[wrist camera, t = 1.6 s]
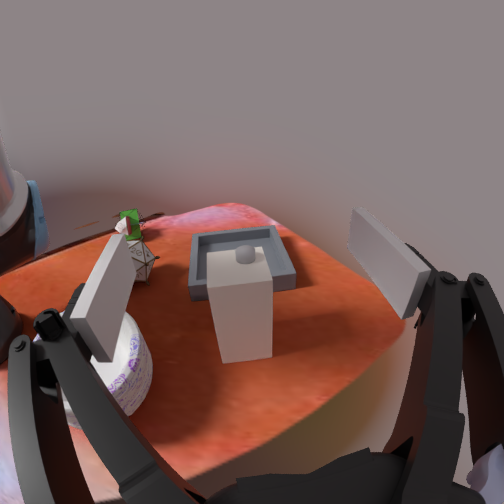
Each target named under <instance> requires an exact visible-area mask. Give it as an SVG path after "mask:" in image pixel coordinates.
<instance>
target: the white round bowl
mask: <svg viewBox="0 0 504 504" xmlns="http://www.w3.org/2000/svg"><path fill="white" fill-rule="evenodd" d="M63 313H64V311H63V312H61V313H60V316H61V317H62V315H63ZM37 340H41V338H40V336H39V335H38V334H37V336H36V337H35V339H34V340H33V342H34V341H37ZM90 362H91V363H92V365H93V366H94V368H95V369H96V371H97V373H98V374H99V376H100V377H101V379H102V380H103V382H104V384H105V385H106V387H107V388H108V390H109V391H110V393H111V394H112V395H113V397H114V398H115V400H116V401H117V403H118V404H119V405H120V407H121V408H122V410H123V411H124V412H125V414H126V415H127V416H130V415H132V414H133V413H134V411H136V409H137V408H138V407H139V406H140V404H141V403H142V402H143V400H144V399H145V397H146V394H147V393H148V390H149V388H150V384H151V381H152V374H153V363H152V358H151V354H150V351H149V349H148V347H147V345H146V342H145V340H144V338H143V336H142V334H141V332H140V329H139V327H138V325H137V323H136V322H135V320H134V319H133V318H132V317H131V316H130V315H129V314H128V313H127V312H126V311H125V314H124V318H123V321H122V325H121V329H120V333H119V337H118V341H117V345H116V349H115V354H114V358H113V362H112V363H98V362H97V361H96V359H95V358H94V356H93V355H92V357H91V361H90ZM61 392H62V398H63V403H64V408H65V413H66V417H67V422H68V424H69V425H70V426H72V427H75V428H77V429H82V428H81V426H80V424H79V422H78V421H77V419H76V417H75V415H74V413H73V411H72V409H71V407H70V405H69V403H68V401H67V399H66V397H65V395H64V393H63V390H62V388H61Z"/></svg>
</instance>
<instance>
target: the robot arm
mask: <svg viewBox="0 0 504 504" xmlns="http://www.w3.org/2000/svg"><path fill="white" fill-rule="evenodd" d="M49 244H50V241H49V234H48V230H47V225H46V221H45V218H44V212H43V207H42V202H41V198H40V194H39V190H38V186H37V183H36V181H34V180H32V181H26V180H25V178H24V177H23V175H22V174H21V173H19V172H17V171H15V170H12V169H11V166H10V163H9V160H8V157H7V153H6V150H5V146H4V143H3V139H2V136H1V131H0V277H1V276H2V275H4V274H6V273H8V272H9V271H11V270H13V269H15V268H17V267H18V266H20V265H22V264H24V263H26V262H28V261H30V260H34V259H35V258H36V257H37V256H39V255H40V254H42V253H44V252H45V251H46V250H47V249H48V247H49ZM347 248H348V249H349V251H350V252H351V253H352V254H353V256H354V257H355V258H356V259H357V261H358V262H359V263H360V265H361V266H362V267H363V268H364V270H365V271H366V272H367V274H368V275H369V276H370V277H371V279H372V280H373V281H374V283H375V284H376V285H377V287H378V288H379V289H380V291H381V292H382V293H383V295H384V296H385V298H386V299H387V300H388V302H389V303H390V304H391V306H392V307H393V309H394V310H395V311H396V313H397V314H398V316H399V317H400V319H401V320H402V319H406V318H409V317H412V316H413V315H414V313H415V311H416V308H417V307H418V308H419V309H420V310H421V313H420V315H419V318H418V320H417V322H416V324H415V326H414V328H415V329H416V327H417V333H416V340H415V346H414V351H413V356H412V362H411V366H410V371H409V376H408V380H407V384H406V388H405V393H404V396H403V400H402V404H401V407H400V411H399V414H398V417H397V421H396V424H395V427H394V430H393V433H392V435H391V437H390V439H389V441H388V442H387V444H386V446H385V447H384V449H383V451H382V452H370V449H369V448H365V449H363V450H360V451H357V452H354V453H351V454H348V455H345V456H342V457H339V458H337V459H336V460H334V461H332V462H330V463H329V464H327V465H325V466H323V467H321V468H319V469H317V470H315V471H313V472H311V473H309V474H266V475H259V476H252V477H243V478H236V481H237V483H235V484H232V485H230V486H227V487H225V488H223V489H221V490H220V491H218V492H216V493H215V494H213V495H212V496H211V497H210V498H209V499H207V498H205V497H204V496H203V495H202V494H201V493H199V492H198V491H197V490H196V489H195V488H194V487H193V486H191V485H190V484H189V483H188V482H186V481H185V480H184V479H183V478H182V477H181V476H180V475H179V474H178V473H177V472H176V471H175V470H174V469H173V468H172V467H171V466H170V465H169V464H168V463H167V462H166V461H165V460H164V459H163V458H162V457H161V456H160V455H159V453H158V452H157V451H156V450H155V449H154V448H153V447H152V446H151V444H150V443H149V442H148V441H147V440H146V439H145V437H144V436H143V435H142V434H141V433H140V431H139V430H138V429H137V428H136V426H135V425H134V424H133V423H132V421H131V420H130V419H129V418H128V416H127V415H126V414H125V412H124V411H123V410H122V408H121V407H120V405H119V404H118V403H117V401H116V400H115V398H114V397H113V395H112V394H111V393H110V391H109V390H108V388H107V387H106V385H105V384H104V382H103V380H102V379H101V377H100V376H99V374H98V373H97V371H96V369H95V368H94V366H93V365H92V363H91V362H90V361H91V357H92V355H93V356H94V358H95V359H96V361H97V362H98V363H112V362H113V358H114V354H115V349H116V345H117V341H118V337H119V333H120V329H121V325H122V321H123V318H124V314H125V310H126V307H127V303H128V300H129V296H130V293H131V290H132V287H133V283H134V280H135V277H136V274H137V273H136V270H135V267H134V264H133V261H132V257H131V254H130V251H129V248H128V244H127V241H126V238H125V234H124V233H122V234H115V235H112V236H111V238H110V240H109V241H108V243H107V245H106V247H105V248H104V250H103V252H102V254H101V256H100V257H99V259H98V261H97V263H96V265H95V267H94V269H93V270H92V272H91V274H90V276H89V278H88V280H87V282H86V283H82V284H80V285H79V287H78V288H77V289H76V290H75V291H74V293H73V295H72V297H71V299H70V301H69V303H68V305H67V307H66V309H65V311H64V313H63V315H62V317H61V316H60V314H59V312H58V311H57V310H56V309H53V308H50V309H46V310H44V311H42V312H41V313H40V314H39V315H38V316H37V317H36V318H35V320H34V323H33V327H34V329H35V330H36V332H37V333H38V335H39V336H40V338H41V340H37V341H34V342H32V341H31V339H30V338H29V337H28V336H27V335H21V333H22V328H23V323H22V319H21V317H20V315H19V314H18V312H17V311H16V309H15V308H14V307H13V306H12V305H11V304H10V303H9V302H8V301H7V300H6V299H4V298H3V297H2V296H1V295H0V364H1V363H2V362H3V361H4V360H5V359H6V358H7V357H8V356H9V359H8V413H9V426H10V435H11V443H12V450H13V456H14V462H15V467H16V472H17V476H18V481H19V485H20V489H21V492H22V496H23V500H24V503H25V504H95V503H94V500H93V498H92V496H91V493H90V491H89V488H88V486H87V483H86V481H85V478H84V475H83V473H82V470H81V467H80V464H79V461H78V458H77V455H76V451H75V448H74V445H73V441H72V437H71V434H70V430H69V426H68V422H67V417H66V413H65V408H64V403H63V398H62V392H61V388H62V390H63V393H64V395H65V397H66V399H67V401H68V403H69V405H70V407H71V409H72V411H73V413H74V415H75V417H76V419H77V421H78V422H79V424H80V426H81V428H82V430H83V431H84V433H85V435H86V437H87V438H88V440H89V442H90V443H91V445H92V446H93V448H94V450H95V451H96V453H97V454H98V456H99V457H100V459H101V460H102V462H103V463H104V465H105V466H106V468H107V469H108V470H109V472H110V473H111V475H112V476H113V477H114V479H115V480H116V481H117V483H118V485H119V493H120V495H121V496H122V498H123V499H124V500H125V502H126V503H127V504H501V503H503V502H504V314H503V311H502V309H501V307H500V305H499V302H498V300H497V298H496V296H495V294H494V292H493V290H492V288H491V286H490V284H489V282H488V281H487V279H486V278H485V277H484V276H483V275H481V274H478V273H471V274H470V275H469V277H468V279H467V281H458V279H457V278H456V277H455V276H454V275H452V274H451V273H448V272H445V271H440V272H438V271H437V270H436V269H435V268H434V267H433V266H432V265H431V264H430V263H429V262H428V261H427V260H426V259H425V258H424V257H423V256H422V255H421V254H419V252H418V251H417V250H416V249H415V248H414V247H412V246H410V245H408V244H407V243H403V242H402V241H401V240H400V239H399V238H398V237H397V236H396V235H395V234H394V233H392V232H391V231H390V230H389V229H388V228H387V227H386V226H385V225H383V224H382V223H381V222H380V221H379V220H378V219H377V218H375V217H374V216H373V215H372V214H371V213H370V212H368V211H367V210H366V209H365V208H364V207H357V208H352V214H351V222H350V230H349V238H348V245H347ZM475 314H476V319H474V315H475ZM462 371H463V377H464V383H465V390H466V397H467V405H468V416H469V430H470V447H471V455H472V462H473V466H474V467H473V469H472V471H470V472H469V473H468V475H467V479H466V480H467V483H468V484H470V485H471V488H467V487H465V486H462V485H460V484H457V483H455V482H453V477H454V474H455V470H456V465H457V461H458V457H459V452H460V448H461V443H462V438H463V431H464V425H465V416H464V414H462V413H459V411H458V409H459V400H460V390H461V378H462Z"/></svg>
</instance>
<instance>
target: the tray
mask: <svg viewBox="0 0 504 504" xmlns="http://www.w3.org/2000/svg"><path fill="white" fill-rule="evenodd" d="M243 245H249V246H252V247H262V249H263V252H264V255H265V258H266V261H267V264H268V267H269V270H270V273H271V276H272V279H273V292H276V291H283V290H290V289H295V288H296V271H295V269H294V267H293V264H292V262H291V260H290V258H289V256H288V254H287V251H286V249H285V247H284V245H283V243H282V240H281V238H280V236H279V234H278V232H277V230H276V228H275V225H271V226H261V227H251V228H242V229H232V230H223V231H214V232H205V233H197V234H193V235H192V245H191V255H190V267H189V279H188V288H189V293H190V297H191V301H200V300H209V296H208V291H207V253H208V252H217V251H226V250H235V249H236V248H238V247H239V246H243Z"/></svg>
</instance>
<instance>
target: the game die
mask: <svg viewBox="0 0 504 504" xmlns="http://www.w3.org/2000/svg"><path fill="white" fill-rule="evenodd" d="M143 240H144V236H142V237H141V240H131V241H127V244H128V248H129V251H130V254H131V257H132V261H133V264H134V267H135V270H136V273H137V274H136V277H135V280H134V282H146V284H147V285H149V282H148V281H147V279H148V277H149V274H150V271H151V269H152V266H153V264H154V261H155V259H159V258H160V257H159V256H156V257H155V256H154V255H153V254H152V252H151V251H150V250H149V249H148V247H147V246H146V245H145V244H144V242H143Z"/></svg>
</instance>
